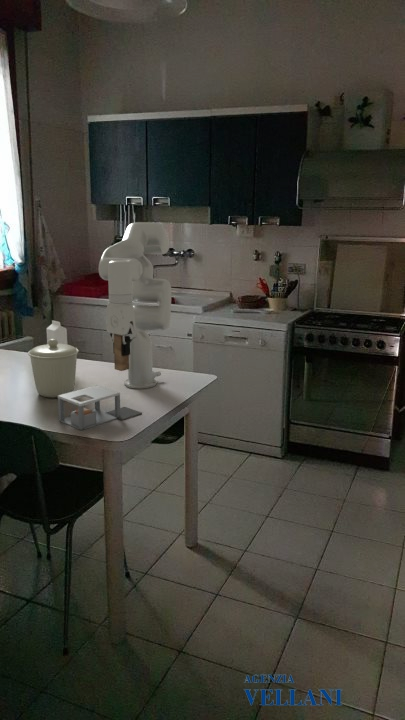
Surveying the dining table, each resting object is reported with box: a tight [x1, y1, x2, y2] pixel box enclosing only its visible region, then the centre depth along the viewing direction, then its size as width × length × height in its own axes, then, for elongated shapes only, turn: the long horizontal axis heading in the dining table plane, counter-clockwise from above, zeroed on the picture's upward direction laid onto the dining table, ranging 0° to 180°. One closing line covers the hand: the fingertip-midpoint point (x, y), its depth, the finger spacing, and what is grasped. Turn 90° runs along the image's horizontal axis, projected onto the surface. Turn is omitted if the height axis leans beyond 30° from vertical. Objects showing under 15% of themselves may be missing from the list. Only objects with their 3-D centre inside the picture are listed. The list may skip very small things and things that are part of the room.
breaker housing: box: [57, 384, 121, 431], centre depth 192 cm, size 16×12×9 cm
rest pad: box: [107, 406, 143, 421], centre depth 199 cm, size 9×9×1 cm
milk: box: [46, 319, 68, 345], centre depth 245 cm, size 6×6×22 cm
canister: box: [27, 339, 80, 399], centre depth 217 cm, size 18×18×21 cm
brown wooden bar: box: [113, 334, 129, 372], centre depth 193 cm, size 3×3×14 cm
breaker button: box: [75, 407, 91, 415], centre depth 189 cm, size 3×3×4 cm
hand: (121, 353), depth 193 cm, fingers closed on brown wooden bar, 3 cm apart
